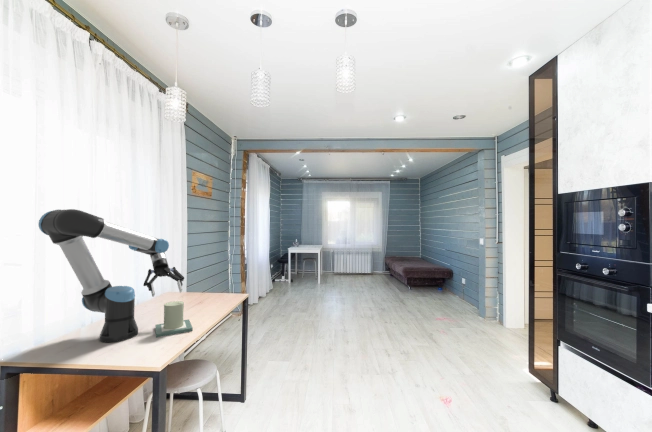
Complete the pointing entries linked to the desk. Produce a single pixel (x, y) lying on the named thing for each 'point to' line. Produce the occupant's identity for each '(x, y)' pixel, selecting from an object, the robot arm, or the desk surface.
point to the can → (173, 314)
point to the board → (164, 332)
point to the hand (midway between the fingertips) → (167, 293)
